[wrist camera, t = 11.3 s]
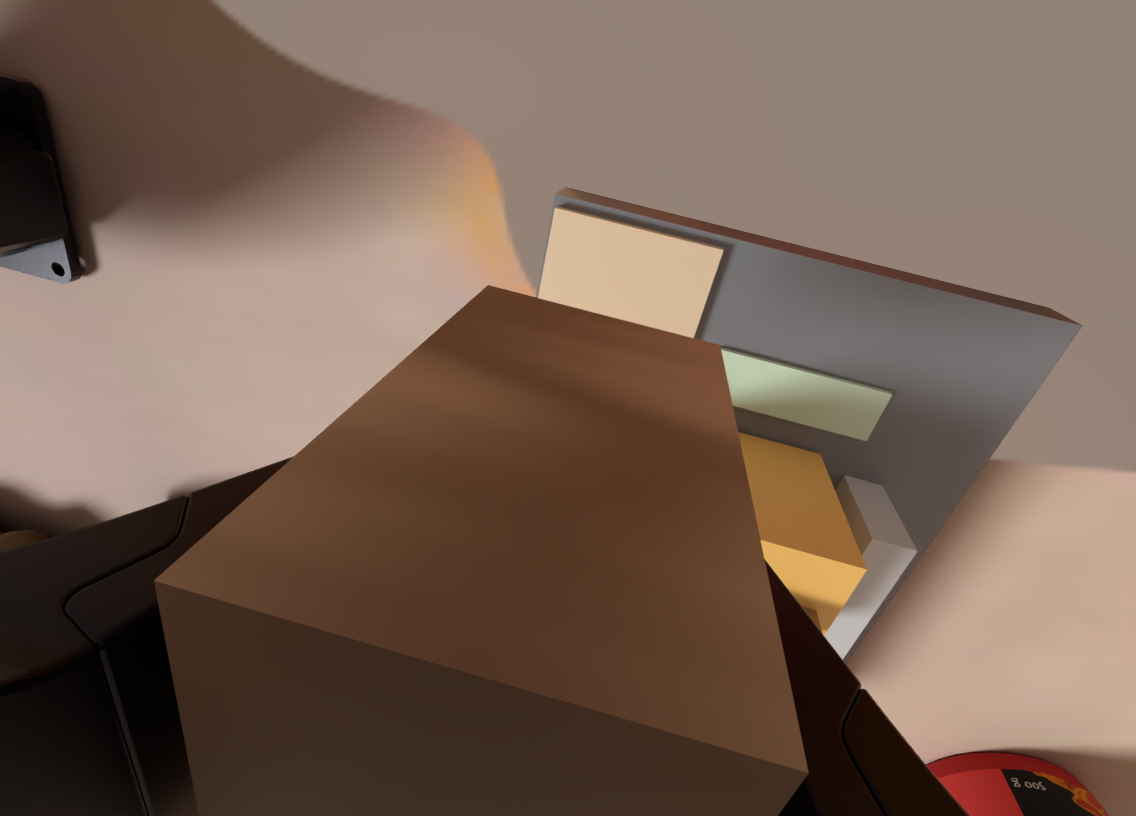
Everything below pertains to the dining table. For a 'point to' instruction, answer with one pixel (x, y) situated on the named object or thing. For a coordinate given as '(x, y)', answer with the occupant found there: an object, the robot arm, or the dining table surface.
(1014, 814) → the canned food
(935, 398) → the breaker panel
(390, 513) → the walnut block
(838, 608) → the knob
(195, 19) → the dining table surface
